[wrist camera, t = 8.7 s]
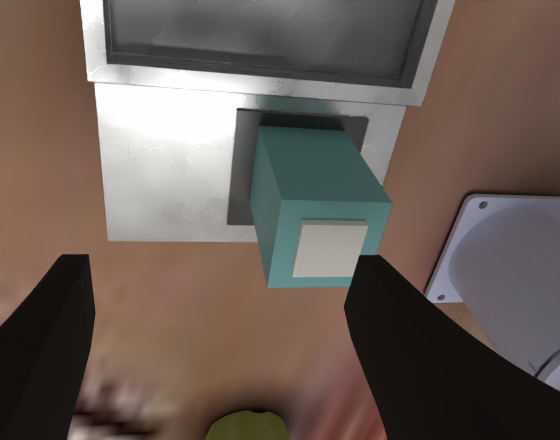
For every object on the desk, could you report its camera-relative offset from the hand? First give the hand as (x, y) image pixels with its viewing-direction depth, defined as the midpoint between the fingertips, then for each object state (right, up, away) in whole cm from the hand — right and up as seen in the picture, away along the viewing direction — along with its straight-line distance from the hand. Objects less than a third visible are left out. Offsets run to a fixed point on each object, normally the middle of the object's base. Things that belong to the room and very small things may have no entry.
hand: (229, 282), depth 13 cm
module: (+2, +4, +9) cm, 10 cm away
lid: (0, +4, +10) cm, 11 cm away
